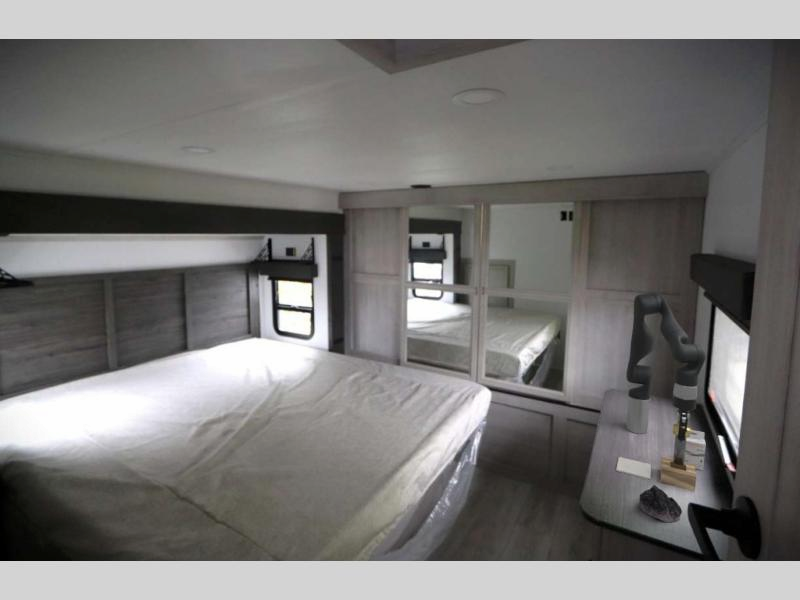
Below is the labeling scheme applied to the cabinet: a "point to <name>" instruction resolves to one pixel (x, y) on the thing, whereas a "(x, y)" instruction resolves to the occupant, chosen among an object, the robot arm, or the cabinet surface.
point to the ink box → (695, 449)
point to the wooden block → (678, 474)
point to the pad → (634, 468)
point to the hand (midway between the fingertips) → (681, 436)
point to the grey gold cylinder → (680, 445)
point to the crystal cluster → (659, 505)
